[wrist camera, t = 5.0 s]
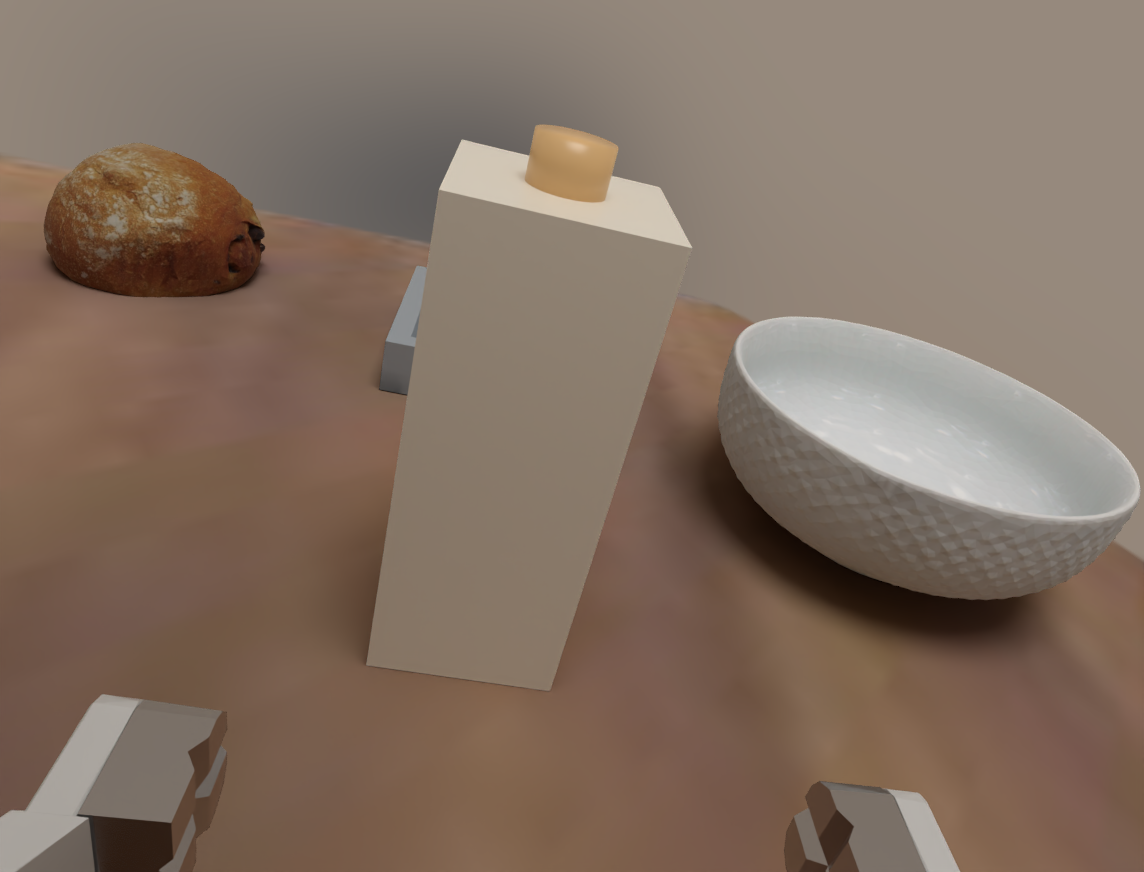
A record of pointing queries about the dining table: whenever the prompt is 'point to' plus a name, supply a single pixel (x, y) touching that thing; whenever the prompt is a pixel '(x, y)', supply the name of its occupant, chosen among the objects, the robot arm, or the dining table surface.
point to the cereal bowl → (917, 460)
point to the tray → (403, 338)
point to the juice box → (520, 403)
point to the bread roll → (151, 225)
